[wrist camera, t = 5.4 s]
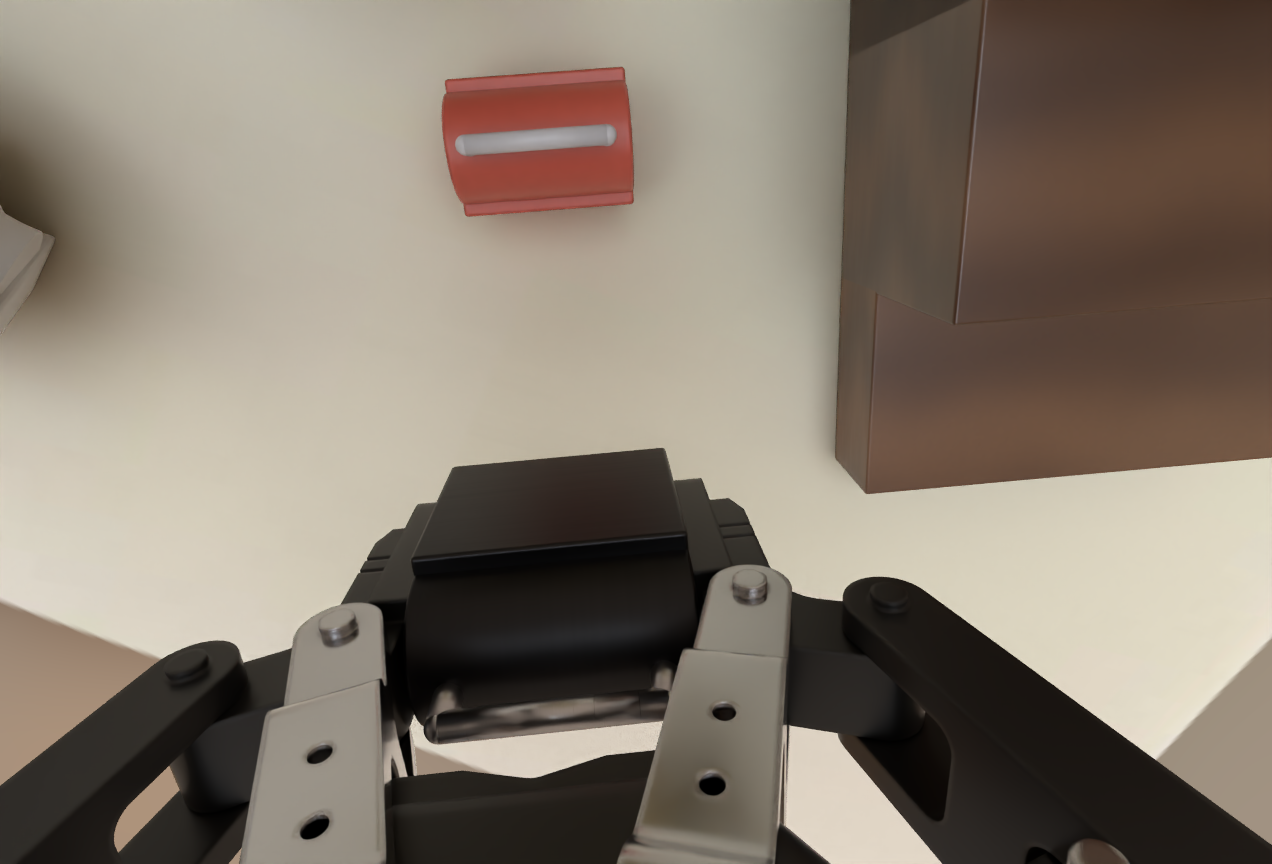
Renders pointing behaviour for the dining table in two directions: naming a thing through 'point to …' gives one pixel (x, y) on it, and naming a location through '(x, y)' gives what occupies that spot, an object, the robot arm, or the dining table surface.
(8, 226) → the headphones
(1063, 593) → the dining table surface
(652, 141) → the dining table surface
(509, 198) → the red lunch box
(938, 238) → the wooden step stairs
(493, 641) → the black lunch box
